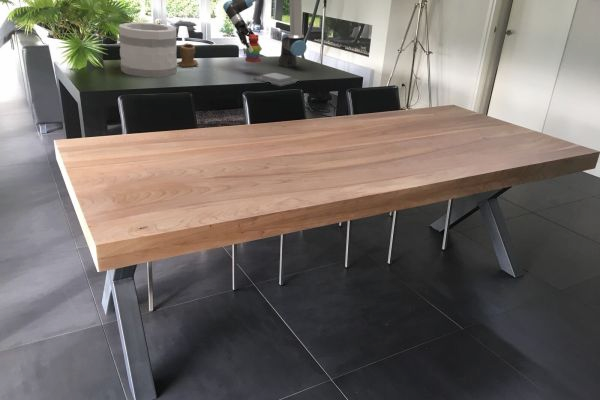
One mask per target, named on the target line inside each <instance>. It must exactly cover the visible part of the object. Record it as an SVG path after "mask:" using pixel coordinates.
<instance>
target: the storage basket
mask: <svg viewBox="0 0 600 400" xmlns="http://www.w3.org/2000/svg"><path fill="white" fill-rule="evenodd" d="M118 30H119V31H118V32H119V33H118V42H119V45H120V48H119V56H120V71H121V72H122V73H124V74H126V75H129V76H130V75H131V76H135V77H144V78H165V77H171V76H175V75H176V74H177V70H178V66H177V65H178V64H177V62H178V60H177V53H178V52H177V50H178V49H177V29H176V27H174V26H170V25H166V24H159V23H151V22H147V23H146V22H125V23H120V24H118Z"/></svg>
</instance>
